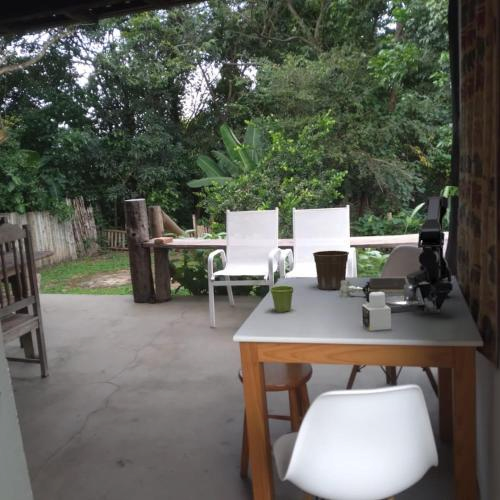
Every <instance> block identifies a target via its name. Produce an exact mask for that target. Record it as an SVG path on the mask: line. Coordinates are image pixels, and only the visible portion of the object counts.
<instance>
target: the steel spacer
mask: <svg viewBox="0 0 500 500" xmlns="http://www.w3.org/2000/svg"><path fill="white" fill-rule="evenodd" d="M423 311H424V313H426V314H431V313H435V314H439V313H440V309H437V308H436V302H435V297H434V296H428V297H424V310H423Z"/></svg>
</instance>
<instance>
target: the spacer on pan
mask: <svg viewBox="0 0 500 500" xmlns="http://www.w3.org/2000/svg"><path fill="white" fill-rule="evenodd" d="M403 296H404V299H405V300H409V301H414V300H418V298H419V288H418V287H417V286H413V285H411V284H406V285H404V292H403Z"/></svg>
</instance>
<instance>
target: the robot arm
mask: <svg viewBox="0 0 500 500" xmlns="http://www.w3.org/2000/svg"><path fill="white" fill-rule="evenodd" d="M449 208H450V198H449V197H446V195H443V196H440V195H437V196H436V195H435V196H434V195H433V196H428V197H427V198H424V209H426V212H427V213H426V220H425V222H424V223H422V225H421V228H420V230H419V231H418V242H417V248H418V249H422V252H421V253H420V254H419V256H418V262H419V264H420V266H419V269H418V270H415V271H413V272H411V273H408V274H407V275H406V277H405V278H406V279H407V281H408V285H413V286H417V287H418V290H419V291H420V295H421V298H422V301H424V297H428V296H434V297H435V302H436V308H437V309H439V310H441V308H442V306H443V304H444V302H445V300H446V298H451V296H450V295H449V294H450V293H451V292H453V291H454V284H453V283H452V270H451V269H450V267H449V266H448V265H449V264H448V261H447V260H446V258H445V257H444V246H445V235H446V234H445V232H444V218H445V217H446V215H447V214H448V209H449Z"/></svg>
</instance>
